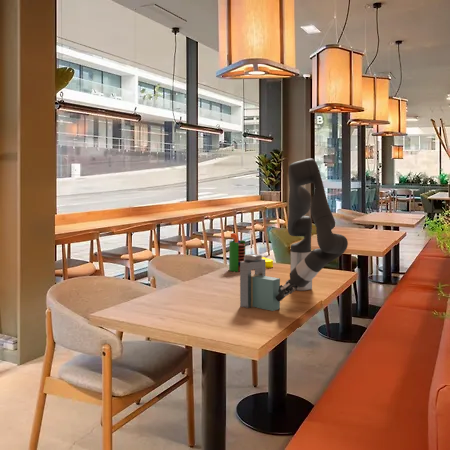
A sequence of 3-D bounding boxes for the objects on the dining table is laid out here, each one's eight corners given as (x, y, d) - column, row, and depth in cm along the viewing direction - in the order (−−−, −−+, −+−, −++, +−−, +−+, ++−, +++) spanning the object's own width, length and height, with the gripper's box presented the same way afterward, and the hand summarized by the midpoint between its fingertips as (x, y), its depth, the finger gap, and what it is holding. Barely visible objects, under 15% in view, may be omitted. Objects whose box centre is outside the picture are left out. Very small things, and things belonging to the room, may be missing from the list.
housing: (268, 303, 205) (268, 254, 203) (250, 308, 197) (250, 258, 195) (254, 300, 209) (254, 253, 207) (237, 305, 201) (237, 256, 199)
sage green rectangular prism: (279, 308, 197) (279, 278, 195) (272, 311, 193) (273, 280, 192) (253, 303, 205) (253, 274, 204) (246, 305, 202) (246, 275, 201)
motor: (243, 272, 269) (243, 234, 267) (227, 271, 271) (227, 234, 269) (246, 268, 279) (246, 232, 277) (231, 268, 281) (230, 232, 279)
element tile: (249, 270, 276) (249, 261, 276) (239, 265, 290) (239, 257, 290) (274, 268, 282) (274, 259, 281) (263, 263, 296) (263, 255, 295)
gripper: (308, 261, 191) (282, 288, 201) (288, 266, 181) (261, 294, 191) (320, 277, 188) (293, 303, 198) (300, 283, 178) (272, 310, 188)
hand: (277, 299), depth 194 cm, fingers closed
